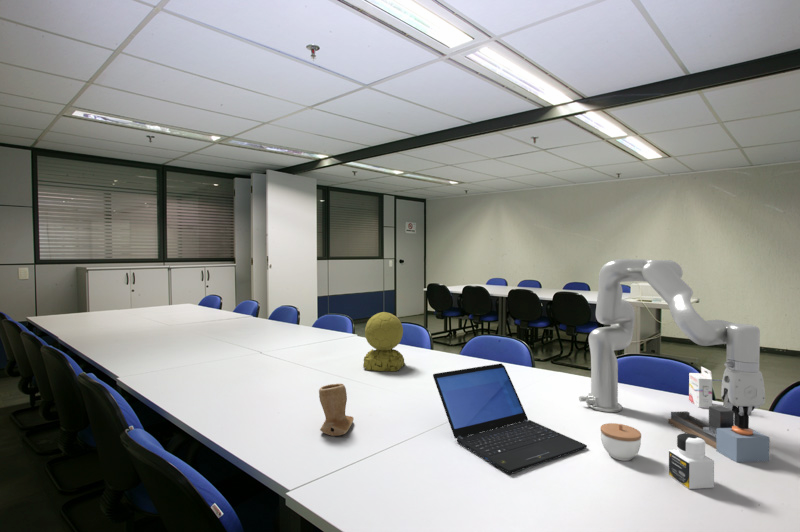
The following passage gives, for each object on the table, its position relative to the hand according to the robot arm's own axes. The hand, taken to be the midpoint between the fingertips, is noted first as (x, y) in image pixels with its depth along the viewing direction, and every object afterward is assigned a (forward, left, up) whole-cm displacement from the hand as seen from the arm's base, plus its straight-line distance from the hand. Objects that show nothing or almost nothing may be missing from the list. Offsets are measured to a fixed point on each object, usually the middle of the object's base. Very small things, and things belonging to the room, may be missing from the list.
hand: (741, 427), depth 123 cm
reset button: (0, 0, -4) cm, 4 cm away
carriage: (0, +7, -7) cm, 10 cm away
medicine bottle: (-26, -13, -9) cm, 30 cm away
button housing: (0, 0, -9) cm, 9 cm away
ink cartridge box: (+22, +42, -9) cm, 48 cm away
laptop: (-66, +17, -9) cm, 69 cm away
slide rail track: (0, +14, -9) cm, 17 cm away
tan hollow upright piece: (-123, +28, -9) cm, 126 cm away
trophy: (-104, +111, -9) cm, 153 cm away
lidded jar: (-36, +2, -9) cm, 37 cm away
